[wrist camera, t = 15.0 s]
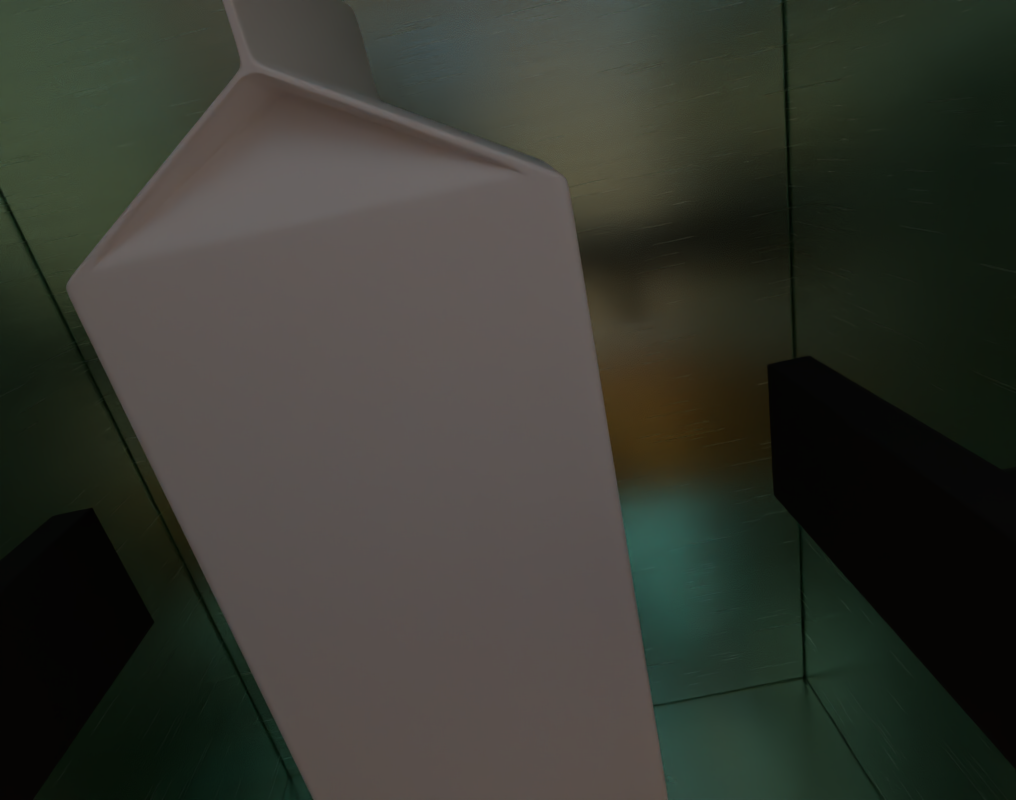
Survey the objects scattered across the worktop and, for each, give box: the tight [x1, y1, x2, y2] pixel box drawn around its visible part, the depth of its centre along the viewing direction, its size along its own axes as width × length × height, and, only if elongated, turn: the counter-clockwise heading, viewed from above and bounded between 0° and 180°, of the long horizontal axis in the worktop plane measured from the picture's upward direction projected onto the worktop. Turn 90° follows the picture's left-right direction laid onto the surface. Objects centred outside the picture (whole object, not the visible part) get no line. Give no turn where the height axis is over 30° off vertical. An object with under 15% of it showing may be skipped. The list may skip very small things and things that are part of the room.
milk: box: [66, 0, 668, 800], centre depth 12 cm, size 6×6×22 cm
